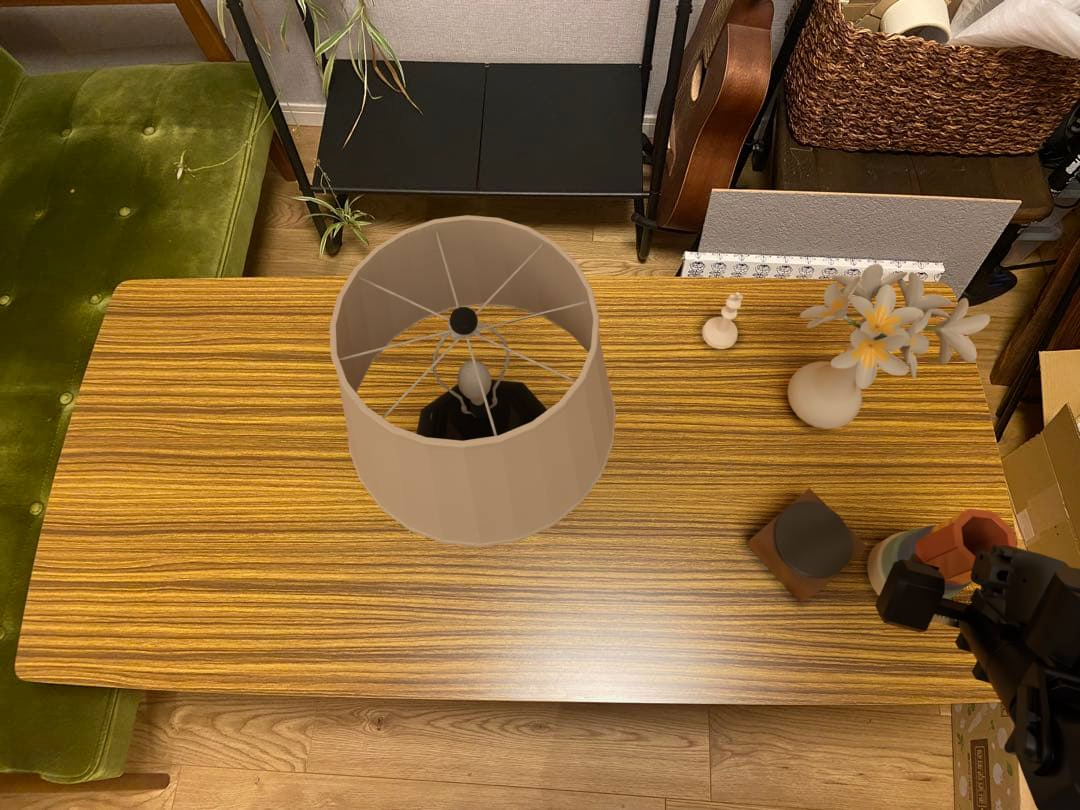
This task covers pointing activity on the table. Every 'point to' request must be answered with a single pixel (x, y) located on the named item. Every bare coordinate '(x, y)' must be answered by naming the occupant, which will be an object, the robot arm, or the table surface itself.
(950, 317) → the flower vase
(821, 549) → the coaster stand
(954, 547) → the terracotta octagonal pot
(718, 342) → the chess piece
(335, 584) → the table surface
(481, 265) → the table lamp
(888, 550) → the disc stack
